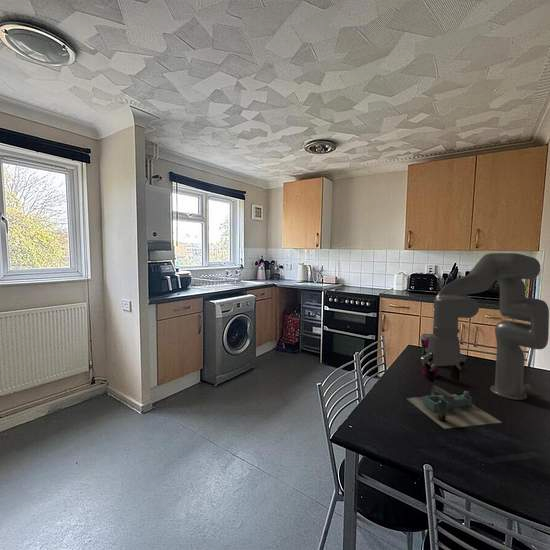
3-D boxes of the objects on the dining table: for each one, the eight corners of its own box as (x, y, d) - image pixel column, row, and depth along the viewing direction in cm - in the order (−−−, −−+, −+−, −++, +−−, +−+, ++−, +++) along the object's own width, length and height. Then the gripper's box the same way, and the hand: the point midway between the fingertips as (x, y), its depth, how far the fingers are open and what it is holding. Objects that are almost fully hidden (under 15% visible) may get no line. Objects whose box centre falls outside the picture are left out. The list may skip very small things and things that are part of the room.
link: (464, 400, 123) (464, 388, 123) (477, 408, 117) (477, 395, 116) (423, 403, 120) (423, 391, 120) (433, 411, 114) (434, 398, 114)
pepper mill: (439, 378, 148) (441, 338, 147) (423, 377, 150) (425, 337, 148) (435, 372, 155) (436, 334, 154) (420, 371, 157) (421, 333, 155)
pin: (442, 417, 110) (443, 398, 110) (447, 421, 108) (448, 402, 107) (435, 418, 110) (436, 399, 109) (440, 422, 107) (441, 402, 107)
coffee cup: (422, 364, 167) (423, 337, 166) (417, 358, 177) (418, 332, 176) (441, 365, 166) (442, 338, 165) (434, 359, 175) (435, 333, 174)
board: (455, 396, 129) (456, 381, 128) (502, 425, 107) (503, 407, 107) (405, 401, 125) (406, 385, 125) (444, 431, 103) (444, 412, 103)
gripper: (458, 329, 112) (456, 375, 113) (415, 330, 109) (413, 377, 110) (475, 334, 104) (472, 383, 105) (430, 336, 101) (427, 386, 102)
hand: (442, 380), depth 108 cm, fingers open, 9 cm apart
